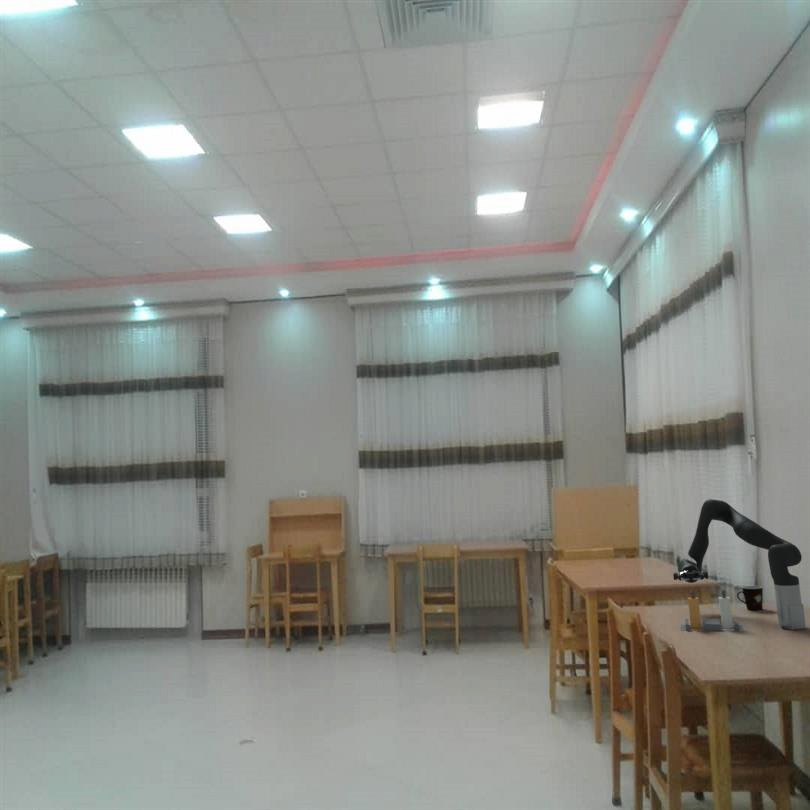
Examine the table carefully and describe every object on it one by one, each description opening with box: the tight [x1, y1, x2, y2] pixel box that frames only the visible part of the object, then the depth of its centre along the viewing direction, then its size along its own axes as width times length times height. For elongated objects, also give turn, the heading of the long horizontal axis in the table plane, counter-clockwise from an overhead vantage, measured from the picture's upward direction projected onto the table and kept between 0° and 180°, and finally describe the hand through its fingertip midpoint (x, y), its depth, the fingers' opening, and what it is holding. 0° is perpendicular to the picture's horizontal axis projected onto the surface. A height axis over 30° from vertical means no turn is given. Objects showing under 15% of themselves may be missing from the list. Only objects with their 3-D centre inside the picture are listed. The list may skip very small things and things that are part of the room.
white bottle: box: [718, 589, 734, 629], centre depth 309 cm, size 4×4×15 cm
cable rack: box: [680, 618, 745, 632], centre depth 310 cm, size 24×12×4 cm, turn 70°
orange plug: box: [687, 590, 702, 629], centre depth 313 cm, size 4×4×15 cm
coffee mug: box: [736, 585, 764, 612], centre depth 346 cm, size 12×9×10 cm
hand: (691, 577), depth 324 cm, fingers open, 8 cm apart
